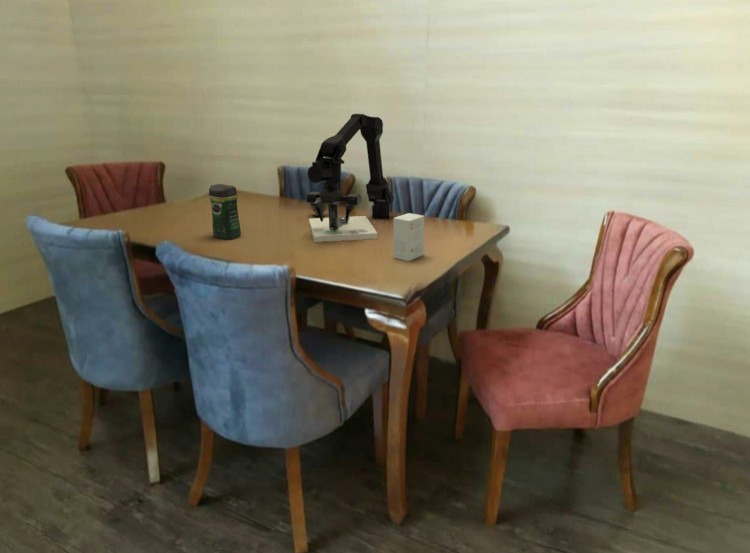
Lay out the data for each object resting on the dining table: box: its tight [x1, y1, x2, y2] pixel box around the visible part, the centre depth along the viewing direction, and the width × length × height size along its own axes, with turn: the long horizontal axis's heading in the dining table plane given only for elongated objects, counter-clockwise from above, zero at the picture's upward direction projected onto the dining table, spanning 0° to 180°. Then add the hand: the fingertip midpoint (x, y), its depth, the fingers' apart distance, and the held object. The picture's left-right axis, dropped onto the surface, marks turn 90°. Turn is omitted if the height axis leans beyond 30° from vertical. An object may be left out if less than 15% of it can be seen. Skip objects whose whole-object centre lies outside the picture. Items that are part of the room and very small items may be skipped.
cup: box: [310, 203, 329, 218], centre depth 230 cm, size 8×7×8 cm
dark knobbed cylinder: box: [327, 202, 349, 230], centre depth 206 cm, size 14×4×9 cm, turn 163°
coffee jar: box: [208, 183, 242, 240], centre depth 201 cm, size 10×8×19 cm
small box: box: [392, 212, 425, 262], centre depth 179 cm, size 8×6×13 cm
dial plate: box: [308, 215, 378, 243], centre depth 210 cm, size 22×25×2 cm
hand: (334, 222), depth 202 cm, fingers open, 9 cm apart
